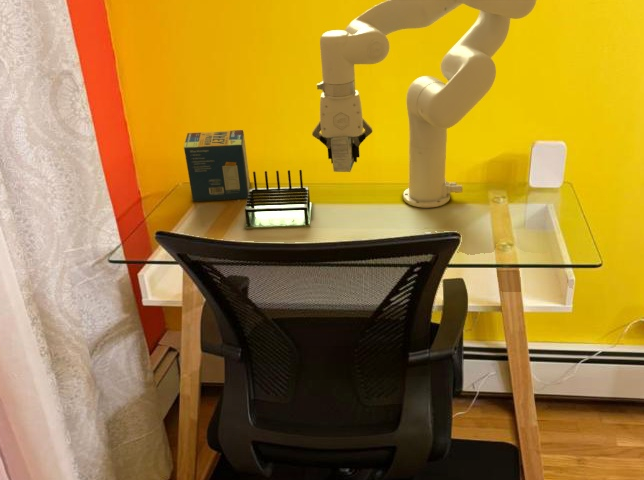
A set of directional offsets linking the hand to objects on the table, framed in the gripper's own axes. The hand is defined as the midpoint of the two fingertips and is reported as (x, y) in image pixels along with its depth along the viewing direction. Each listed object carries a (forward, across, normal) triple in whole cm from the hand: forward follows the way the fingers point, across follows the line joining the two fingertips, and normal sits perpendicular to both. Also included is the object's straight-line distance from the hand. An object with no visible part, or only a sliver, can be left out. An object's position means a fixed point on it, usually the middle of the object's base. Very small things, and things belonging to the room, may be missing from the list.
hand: (344, 159), depth 196 cm
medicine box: (+2, 0, 0) cm, 2 cm away
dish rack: (+14, -18, 0) cm, 23 cm away
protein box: (+14, -35, +16) cm, 41 cm away
